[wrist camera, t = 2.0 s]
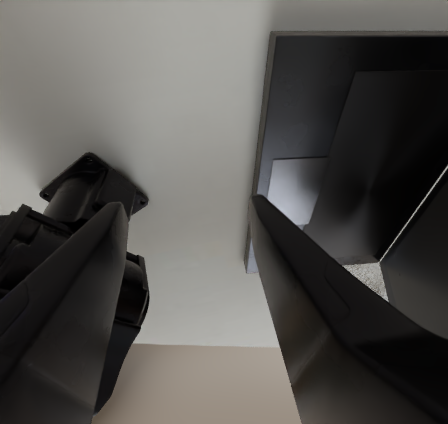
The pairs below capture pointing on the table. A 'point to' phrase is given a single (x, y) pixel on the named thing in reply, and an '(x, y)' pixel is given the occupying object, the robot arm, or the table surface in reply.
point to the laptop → (351, 134)
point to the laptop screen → (422, 264)
